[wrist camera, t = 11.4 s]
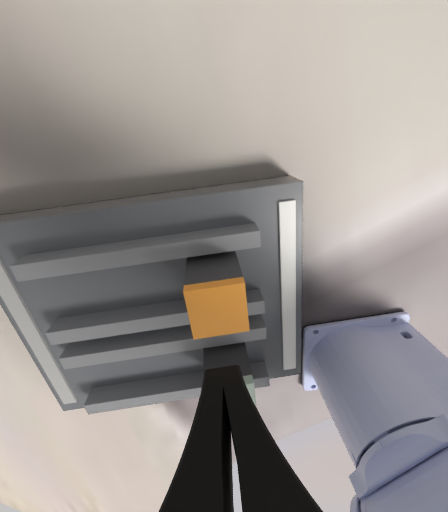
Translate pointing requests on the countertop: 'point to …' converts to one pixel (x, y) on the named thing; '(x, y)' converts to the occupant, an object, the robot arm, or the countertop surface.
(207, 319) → the breaker toggle
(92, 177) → the countertop surface
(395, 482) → the robot arm
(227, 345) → the block
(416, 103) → the countertop surface
